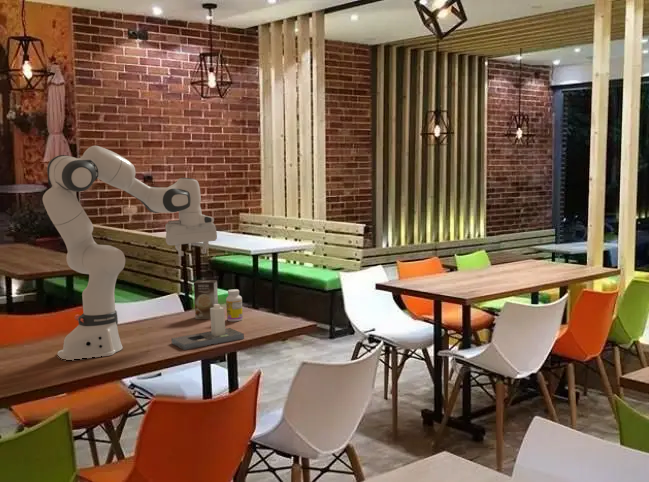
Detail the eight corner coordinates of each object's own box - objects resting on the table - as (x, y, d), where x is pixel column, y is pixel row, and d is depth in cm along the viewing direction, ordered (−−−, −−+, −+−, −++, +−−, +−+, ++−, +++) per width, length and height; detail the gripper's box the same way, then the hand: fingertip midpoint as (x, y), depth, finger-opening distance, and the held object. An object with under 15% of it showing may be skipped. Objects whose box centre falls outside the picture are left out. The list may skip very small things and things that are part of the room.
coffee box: (194, 319, 303) (192, 282, 302) (198, 316, 310) (196, 280, 308) (215, 319, 303) (213, 282, 301) (219, 315, 309) (217, 279, 307)
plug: (216, 341, 265) (214, 306, 264) (211, 339, 269) (209, 304, 267) (225, 339, 267) (223, 304, 266) (221, 337, 271) (219, 302, 269)
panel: (184, 350, 254) (183, 343, 254) (171, 343, 264) (171, 337, 264) (243, 338, 267) (243, 332, 267) (230, 332, 277) (229, 327, 277)
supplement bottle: (225, 319, 301) (224, 289, 300) (241, 317, 303) (239, 288, 302) (228, 322, 295) (226, 292, 294) (244, 320, 297) (242, 290, 295)
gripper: (168, 222, 267) (170, 258, 268) (217, 217, 278) (219, 252, 279) (162, 221, 272) (164, 256, 274) (211, 217, 283) (212, 251, 285)
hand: (192, 254), depth 277 cm, fingers open, 8 cm apart
